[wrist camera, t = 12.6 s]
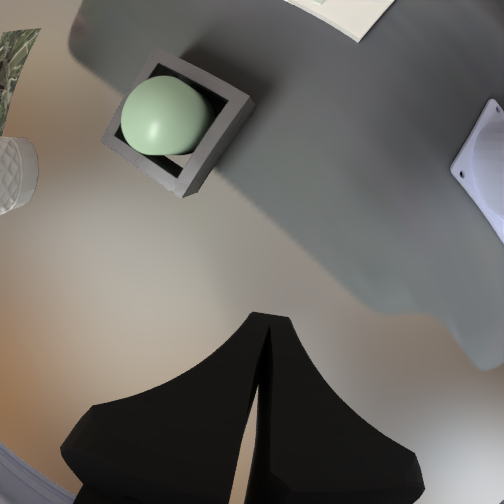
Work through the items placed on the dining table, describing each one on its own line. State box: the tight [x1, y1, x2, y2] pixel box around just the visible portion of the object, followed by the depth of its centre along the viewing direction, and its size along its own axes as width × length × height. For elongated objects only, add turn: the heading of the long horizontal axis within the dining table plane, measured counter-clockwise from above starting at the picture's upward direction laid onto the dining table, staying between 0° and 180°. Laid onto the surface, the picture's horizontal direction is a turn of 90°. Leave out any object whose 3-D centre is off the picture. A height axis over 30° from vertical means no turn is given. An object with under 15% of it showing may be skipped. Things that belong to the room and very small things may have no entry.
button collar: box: [100, 48, 256, 198], centre depth 16 cm, size 7×7×3 cm
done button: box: [121, 76, 215, 155], centre depth 15 cm, size 4×4×4 cm
